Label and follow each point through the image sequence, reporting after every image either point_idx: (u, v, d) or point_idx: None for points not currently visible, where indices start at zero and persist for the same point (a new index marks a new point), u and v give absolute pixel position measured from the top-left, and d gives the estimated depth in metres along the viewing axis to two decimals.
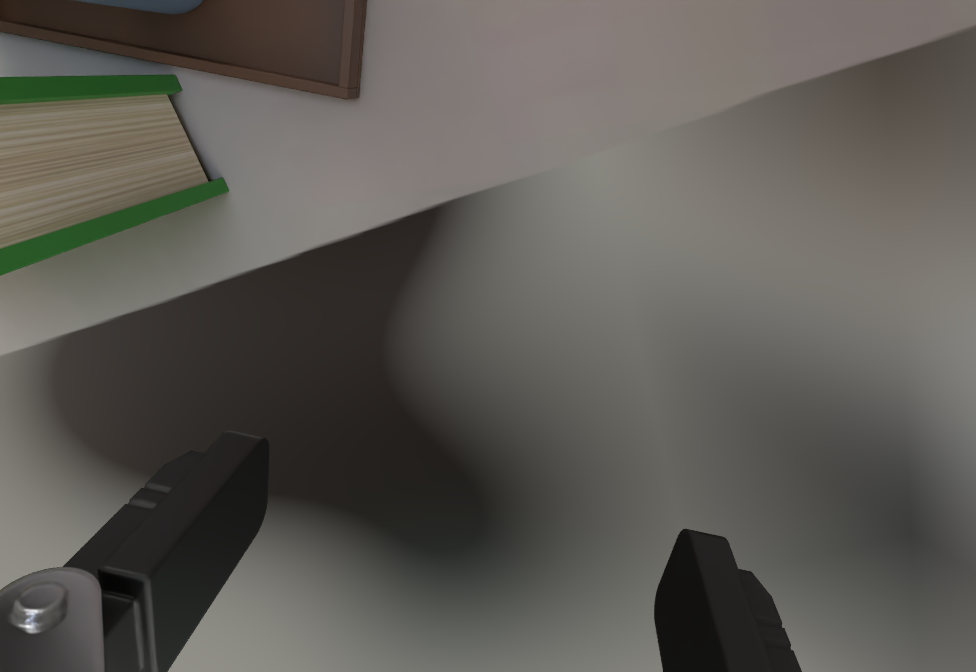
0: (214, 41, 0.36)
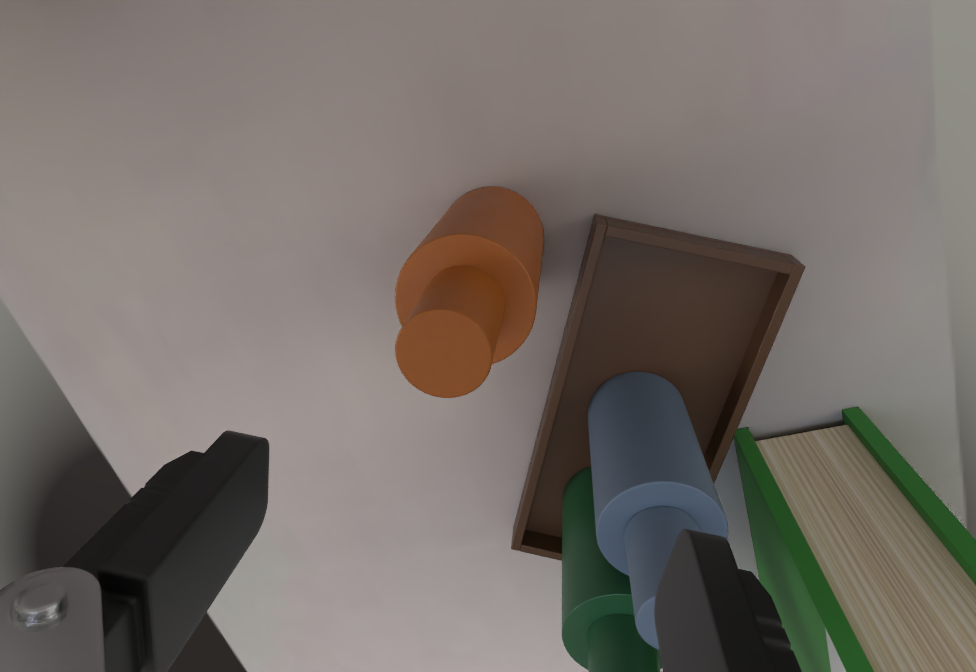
0: (713, 388, 0.37)
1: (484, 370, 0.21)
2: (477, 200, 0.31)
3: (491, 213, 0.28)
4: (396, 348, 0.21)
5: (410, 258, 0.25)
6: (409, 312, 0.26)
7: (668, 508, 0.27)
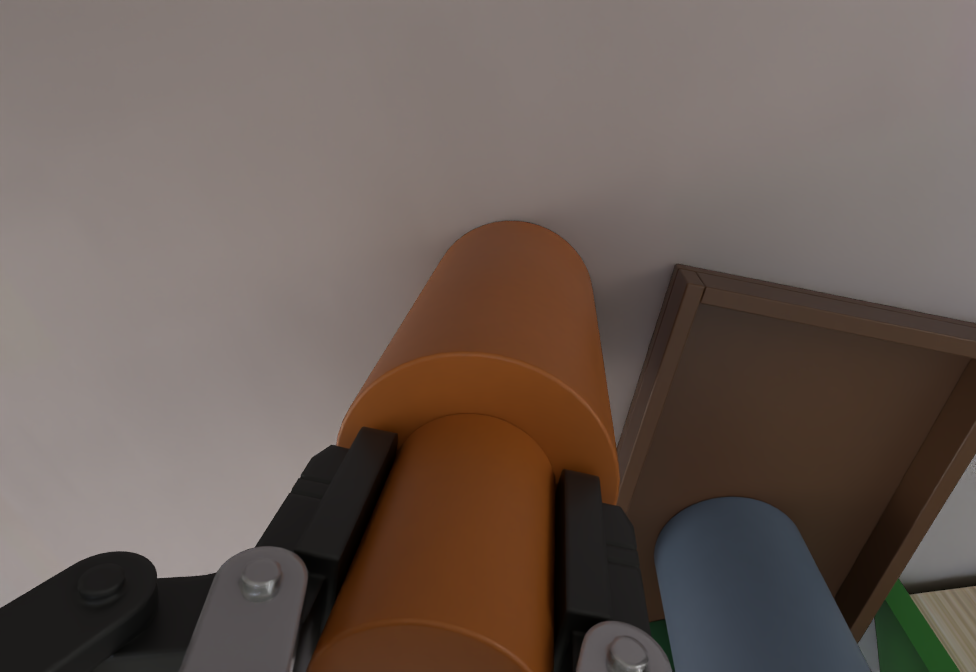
0: (849, 521, 0.24)
1: None
2: (491, 252, 0.18)
3: (519, 284, 0.15)
4: None
5: (362, 397, 0.12)
6: None
7: None
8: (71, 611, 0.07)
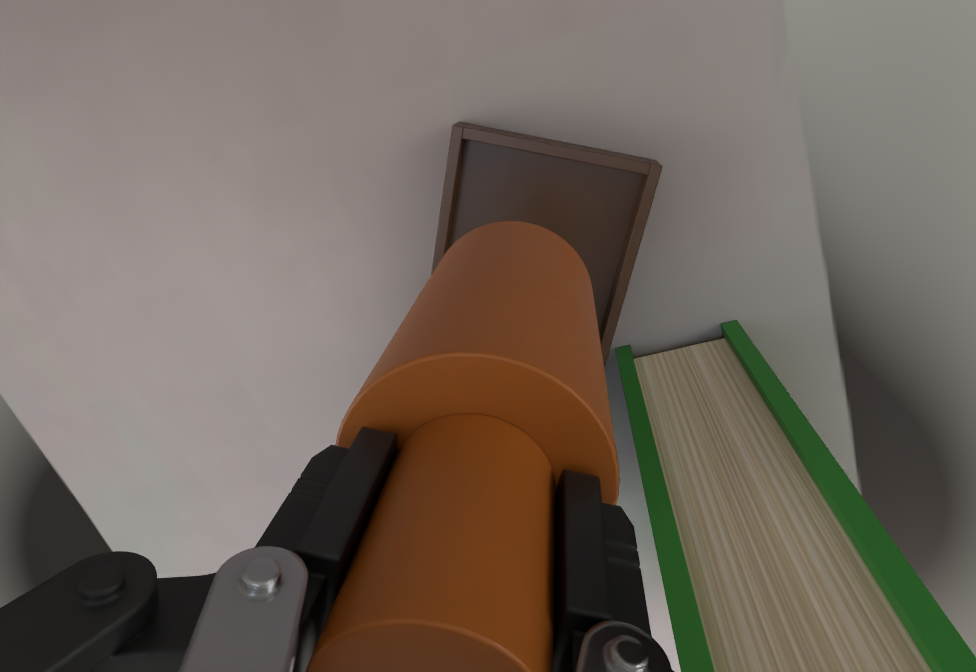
0: None
1: None
2: (490, 252, 0.18)
3: (519, 284, 0.15)
4: None
5: (361, 397, 0.12)
6: None
7: None
8: (71, 612, 0.07)
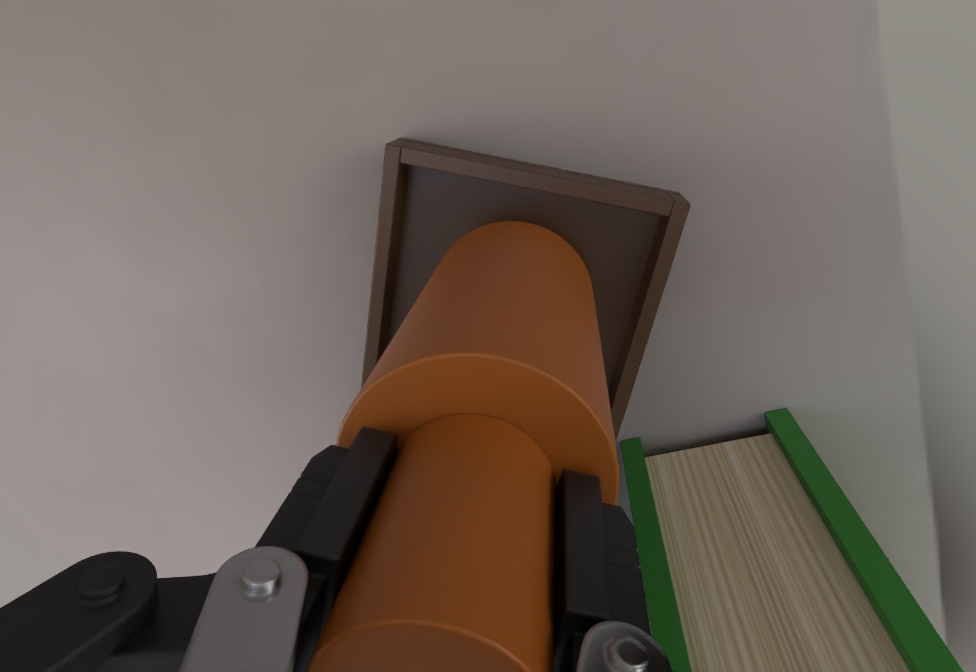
0: None
1: None
2: (491, 252, 0.18)
3: (519, 284, 0.15)
4: None
5: (362, 397, 0.12)
6: None
7: None
8: (71, 612, 0.07)
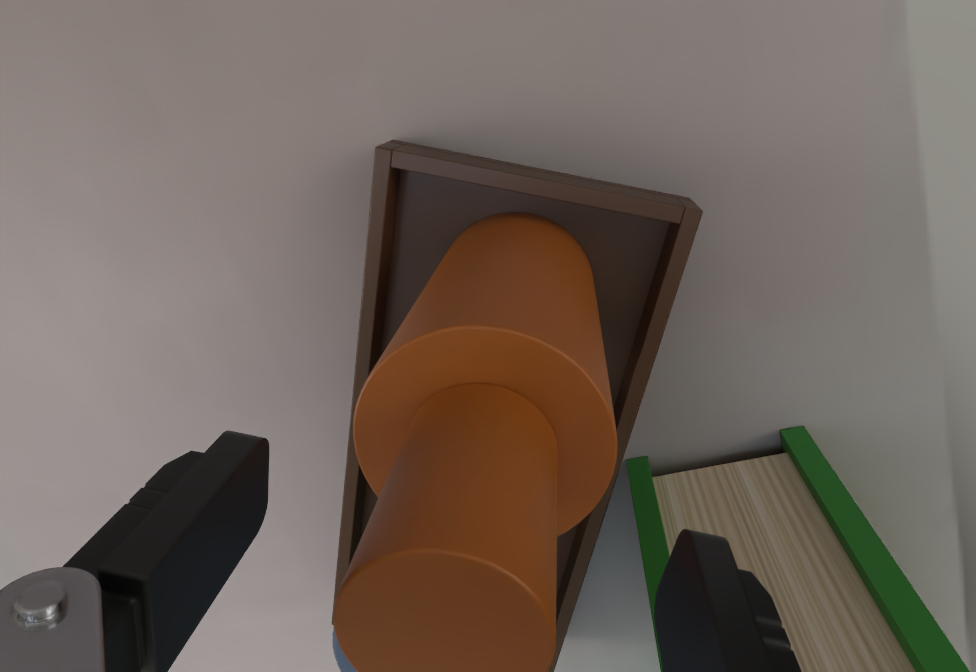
0: None
1: (537, 671, 0.09)
2: (496, 239, 0.19)
3: (523, 267, 0.16)
4: (335, 620, 0.09)
5: (378, 368, 0.13)
6: (380, 460, 0.14)
7: None
8: None
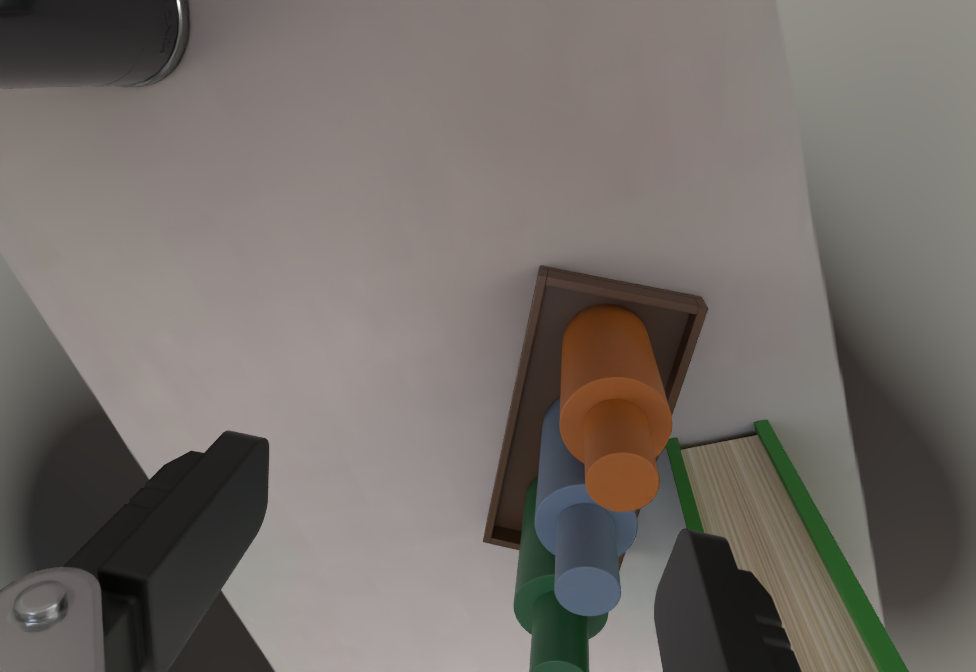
0: None
1: (652, 494, 0.28)
2: (605, 326, 0.38)
3: (624, 345, 0.36)
4: (586, 478, 0.28)
5: (575, 393, 0.32)
6: (570, 431, 0.33)
7: (588, 505, 0.35)
8: None
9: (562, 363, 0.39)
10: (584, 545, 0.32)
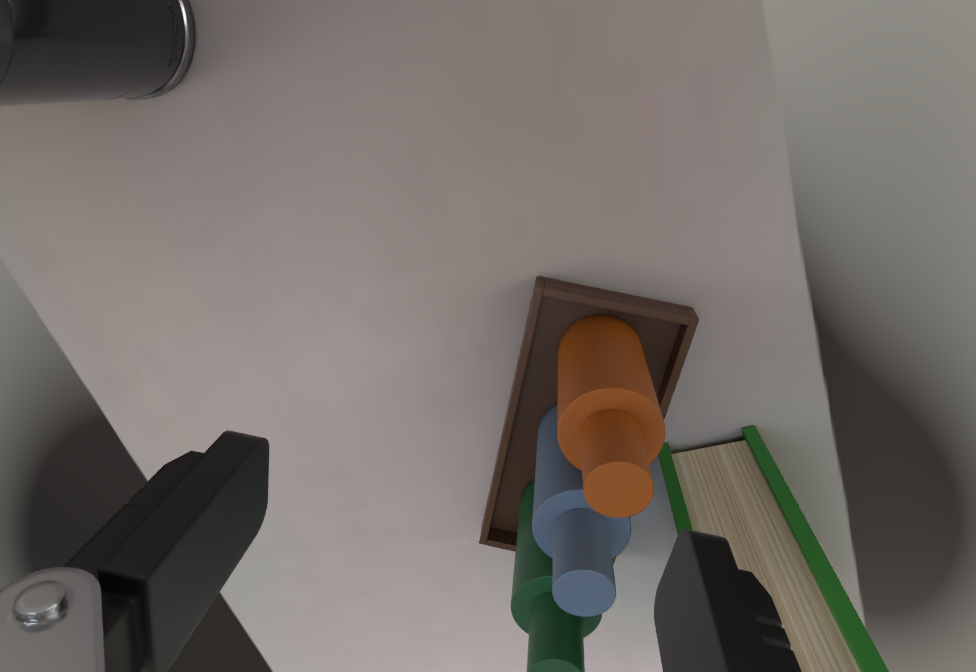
0: None
1: (647, 500, 0.30)
2: (600, 336, 0.39)
3: (619, 355, 0.37)
4: (584, 485, 0.30)
5: (572, 403, 0.34)
6: (567, 439, 0.35)
7: (584, 509, 0.36)
8: None
9: (558, 372, 0.40)
10: (581, 549, 0.33)
